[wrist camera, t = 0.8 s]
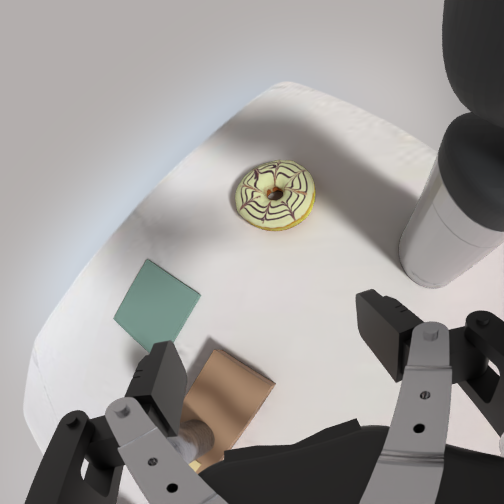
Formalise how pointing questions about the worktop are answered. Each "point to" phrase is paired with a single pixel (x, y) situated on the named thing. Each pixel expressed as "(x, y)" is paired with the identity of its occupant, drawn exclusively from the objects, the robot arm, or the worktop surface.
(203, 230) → the worktop surface
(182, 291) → the felt mat
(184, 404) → the plane body
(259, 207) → the decorated donut
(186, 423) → the cylinder with brass knob
